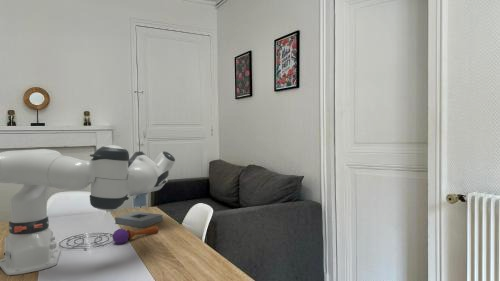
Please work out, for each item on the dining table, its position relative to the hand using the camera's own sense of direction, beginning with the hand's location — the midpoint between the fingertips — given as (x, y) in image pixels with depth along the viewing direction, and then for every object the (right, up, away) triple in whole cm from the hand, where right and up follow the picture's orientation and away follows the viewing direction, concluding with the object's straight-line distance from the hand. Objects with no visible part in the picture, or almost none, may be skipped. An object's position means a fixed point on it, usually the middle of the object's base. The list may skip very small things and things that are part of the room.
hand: (138, 196), depth 172 cm
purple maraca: (+8, -14, -27) cm, 31 cm away
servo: (+1, -4, 0) cm, 4 cm away
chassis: (0, -12, 0) cm, 13 cm away
